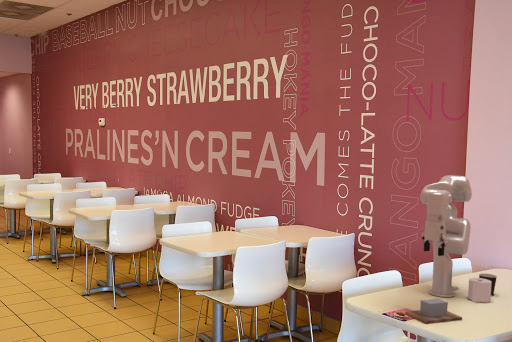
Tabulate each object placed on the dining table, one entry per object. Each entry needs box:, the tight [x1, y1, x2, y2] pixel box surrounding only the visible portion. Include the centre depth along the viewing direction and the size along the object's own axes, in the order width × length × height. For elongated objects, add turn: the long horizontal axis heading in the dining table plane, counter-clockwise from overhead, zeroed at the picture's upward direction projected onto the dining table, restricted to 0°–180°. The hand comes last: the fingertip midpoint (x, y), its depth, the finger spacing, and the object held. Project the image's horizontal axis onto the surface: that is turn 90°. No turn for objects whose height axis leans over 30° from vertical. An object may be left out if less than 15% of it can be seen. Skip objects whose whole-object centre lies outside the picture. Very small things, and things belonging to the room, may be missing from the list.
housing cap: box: [419, 298, 449, 317], centre depth 236 cm, size 10×6×6 cm, turn 112°
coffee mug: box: [478, 273, 497, 296], centre depth 281 cm, size 12×9×10 cm
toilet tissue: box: [467, 277, 492, 303], centre depth 267 cm, size 11×12×10 cm
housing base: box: [404, 309, 463, 325], centre depth 236 cm, size 20×14×4 cm
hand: (433, 253), depth 250 cm, fingers open, 9 cm apart
